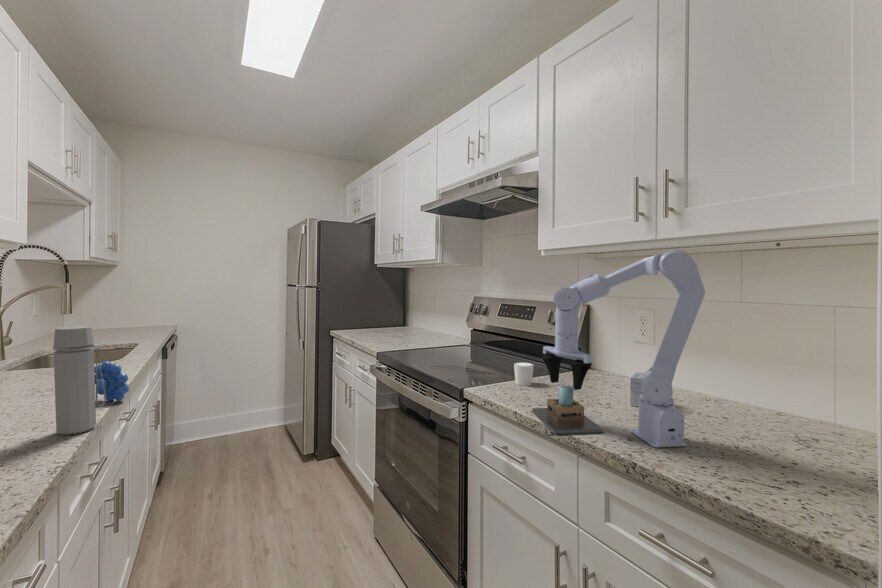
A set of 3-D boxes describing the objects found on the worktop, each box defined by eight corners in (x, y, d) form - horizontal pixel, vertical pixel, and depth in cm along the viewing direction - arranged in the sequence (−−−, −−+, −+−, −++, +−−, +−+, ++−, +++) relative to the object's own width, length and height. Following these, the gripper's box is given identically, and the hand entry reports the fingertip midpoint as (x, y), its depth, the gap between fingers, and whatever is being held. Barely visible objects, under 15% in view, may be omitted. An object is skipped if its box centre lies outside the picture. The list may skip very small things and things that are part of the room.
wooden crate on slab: (602, 432, 96) (602, 411, 96) (554, 434, 95) (555, 413, 94) (573, 410, 112) (573, 392, 112) (532, 411, 110) (532, 393, 110)
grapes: (78, 404, 114) (77, 363, 114) (101, 397, 121) (100, 358, 120) (114, 406, 113) (112, 365, 112) (135, 399, 119) (134, 360, 119)
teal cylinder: (575, 418, 103) (576, 388, 102) (567, 421, 101) (568, 390, 100) (563, 414, 105) (564, 385, 105) (555, 417, 103) (556, 387, 103)
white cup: (522, 380, 145) (522, 361, 145) (537, 384, 140) (537, 364, 139) (509, 383, 140) (510, 363, 140) (525, 387, 135) (525, 367, 135)
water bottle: (59, 439, 90) (55, 330, 89) (52, 431, 95) (48, 327, 93) (110, 427, 97) (107, 326, 96) (102, 420, 102) (99, 324, 101)
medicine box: (646, 408, 114) (647, 379, 113) (629, 405, 116) (630, 376, 116) (651, 402, 120) (651, 374, 120) (635, 399, 123) (635, 371, 122)
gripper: (600, 336, 98) (599, 390, 99) (556, 329, 110) (555, 377, 111) (581, 338, 94) (580, 394, 95) (537, 331, 107) (537, 380, 107)
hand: (565, 385), depth 103 cm, fingers open, 7 cm apart
